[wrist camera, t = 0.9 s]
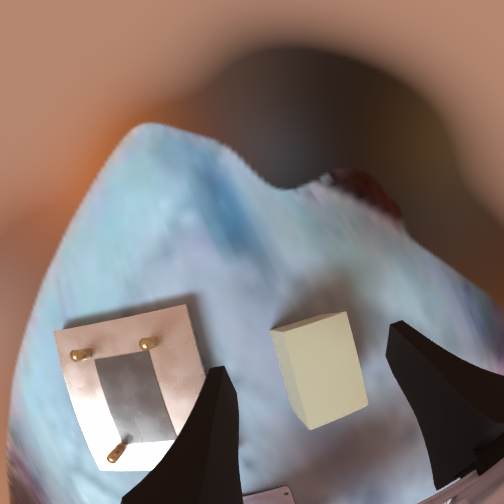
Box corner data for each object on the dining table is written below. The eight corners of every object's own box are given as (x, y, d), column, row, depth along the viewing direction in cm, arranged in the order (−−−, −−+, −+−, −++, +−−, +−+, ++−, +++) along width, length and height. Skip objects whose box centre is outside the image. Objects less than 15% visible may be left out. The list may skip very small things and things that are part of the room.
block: (339, 390, 23) (368, 405, 17) (291, 408, 22) (309, 430, 17) (319, 314, 25) (346, 311, 19) (269, 330, 24) (282, 332, 18)
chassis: (233, 452, 21) (234, 471, 17) (105, 464, 18) (91, 480, 15) (187, 305, 24) (180, 301, 20) (61, 331, 22) (39, 330, 18)
